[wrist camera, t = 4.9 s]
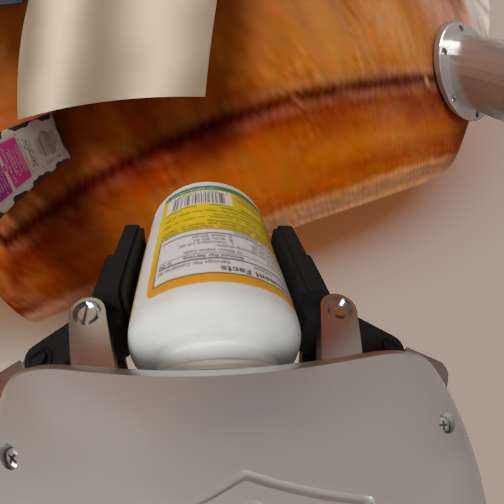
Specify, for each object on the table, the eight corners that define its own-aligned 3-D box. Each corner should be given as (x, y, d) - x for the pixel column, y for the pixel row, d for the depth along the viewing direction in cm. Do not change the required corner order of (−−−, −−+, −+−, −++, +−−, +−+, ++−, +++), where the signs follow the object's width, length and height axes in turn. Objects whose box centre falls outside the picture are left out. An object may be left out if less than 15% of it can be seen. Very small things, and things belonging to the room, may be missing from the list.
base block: (223, -45, 10) (231, -72, 6) (203, 93, 18) (205, 97, 14) (66, -25, 7) (41, -41, 3) (49, 108, 15) (17, 119, 11)
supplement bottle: (201, 154, 11) (207, 375, 3) (283, 224, 14) (365, 409, 6) (132, 238, 13) (90, 435, 5) (212, 287, 15) (233, 459, 8)
